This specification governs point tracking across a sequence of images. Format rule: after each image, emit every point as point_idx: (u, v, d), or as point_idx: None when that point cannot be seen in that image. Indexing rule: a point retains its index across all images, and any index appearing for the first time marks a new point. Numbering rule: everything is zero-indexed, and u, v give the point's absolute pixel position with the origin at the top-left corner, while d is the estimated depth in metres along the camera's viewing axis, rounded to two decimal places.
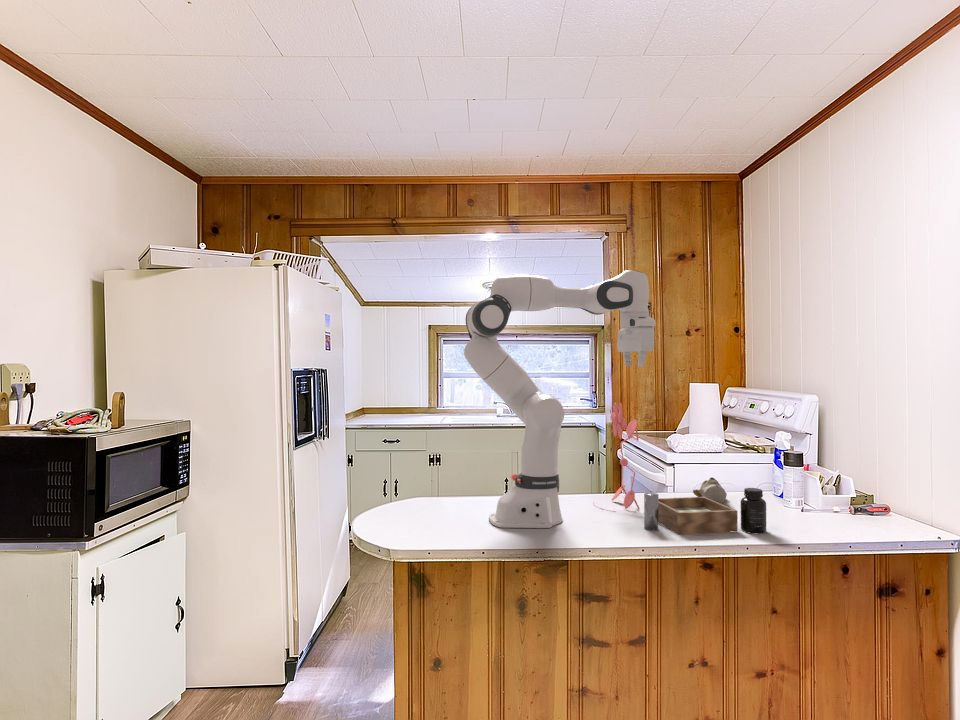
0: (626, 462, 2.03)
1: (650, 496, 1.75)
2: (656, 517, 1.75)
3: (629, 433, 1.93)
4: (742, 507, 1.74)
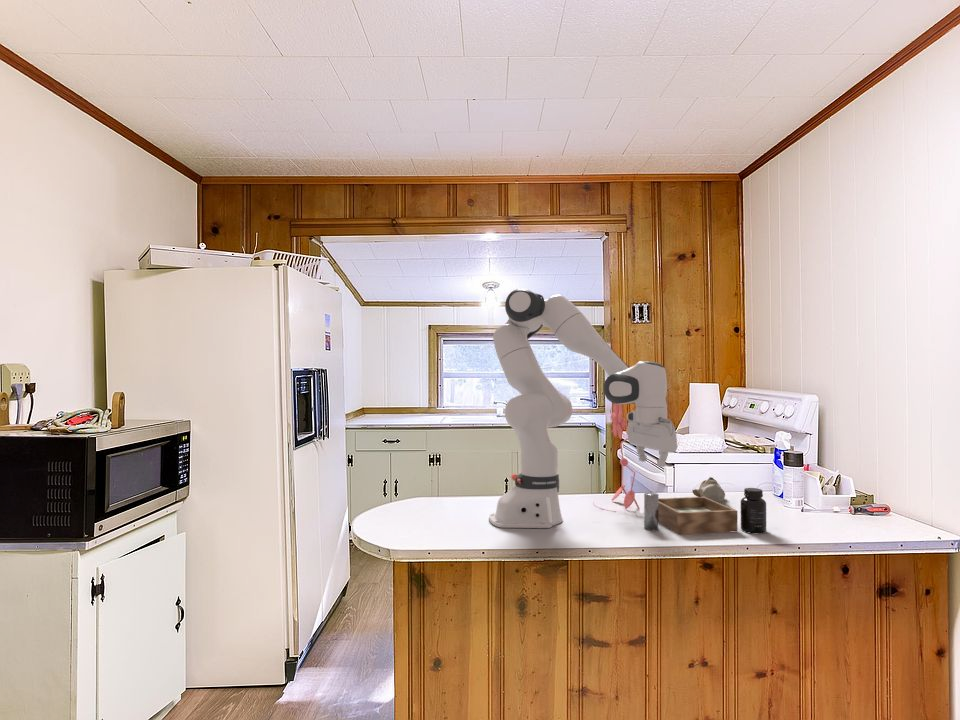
0: (626, 462, 2.03)
1: (650, 496, 1.75)
2: (656, 517, 1.75)
3: None
4: (742, 507, 1.74)
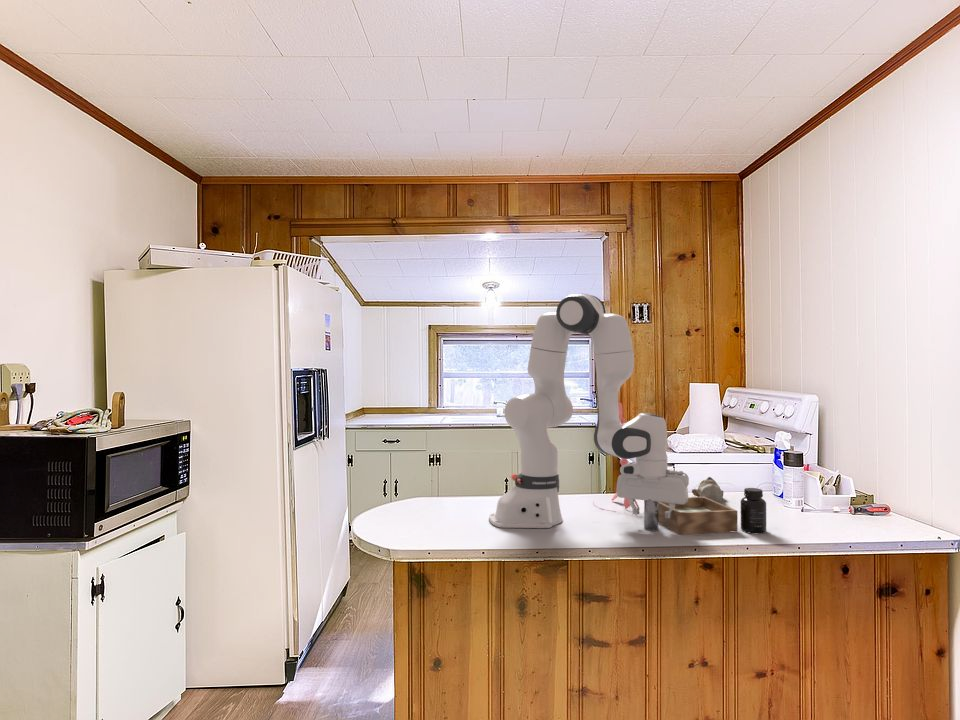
0: (626, 462, 2.03)
1: None
2: (656, 517, 1.75)
3: None
4: (742, 507, 1.74)
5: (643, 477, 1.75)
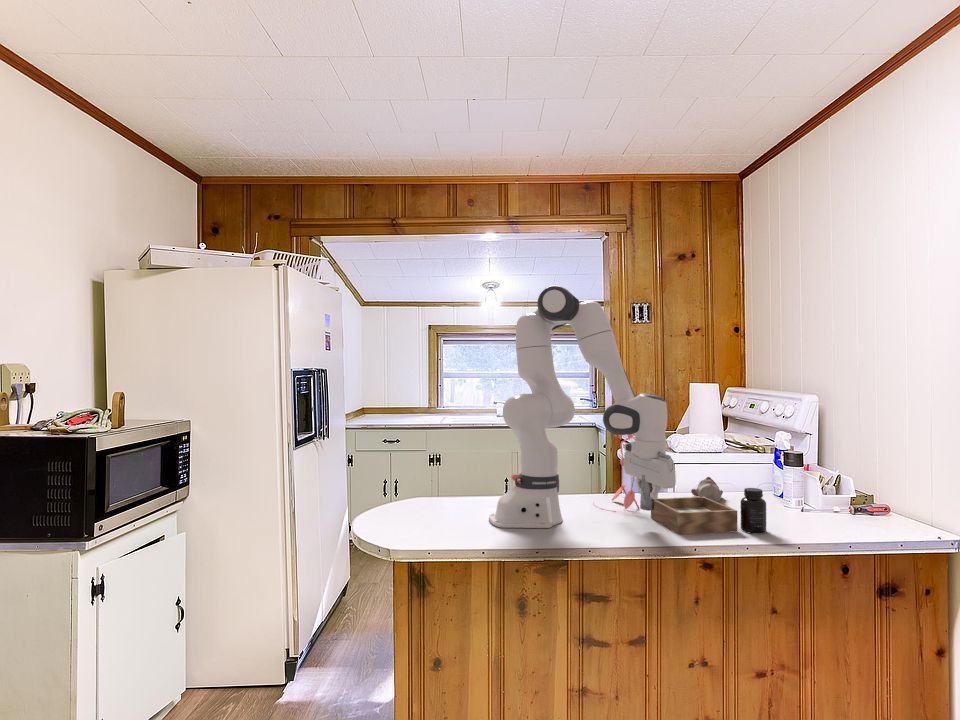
0: None
1: (643, 476, 1.76)
2: (648, 498, 1.75)
3: None
4: (742, 507, 1.74)
5: (638, 456, 1.77)
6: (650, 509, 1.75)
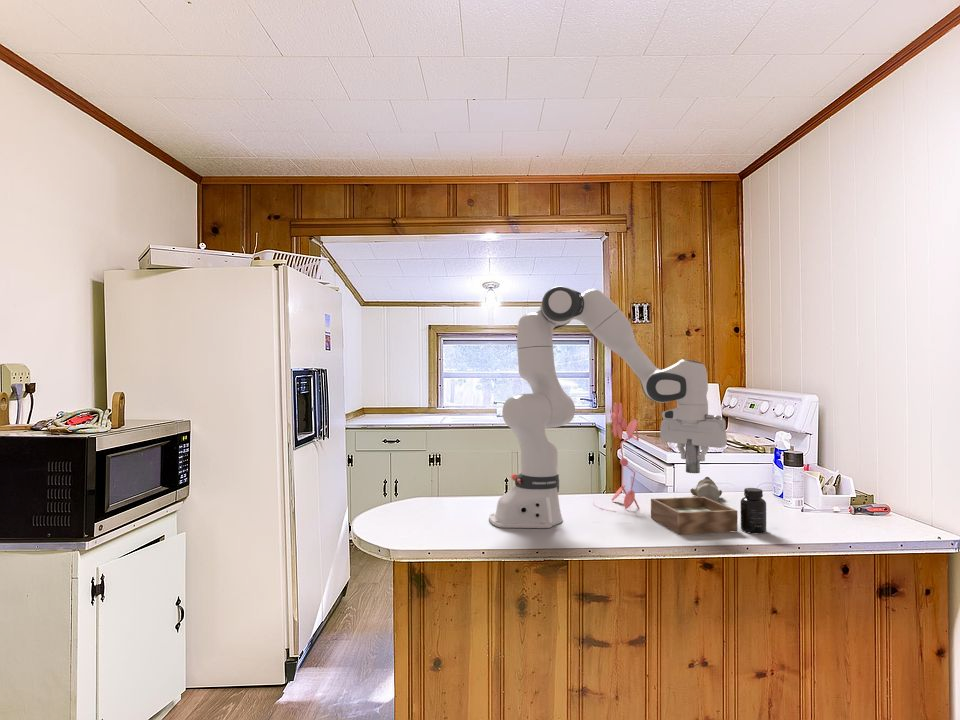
0: (626, 462, 2.03)
1: (689, 440, 1.80)
2: (696, 460, 1.79)
3: (629, 433, 1.93)
4: (742, 507, 1.74)
5: (682, 421, 1.81)
6: (698, 472, 1.79)
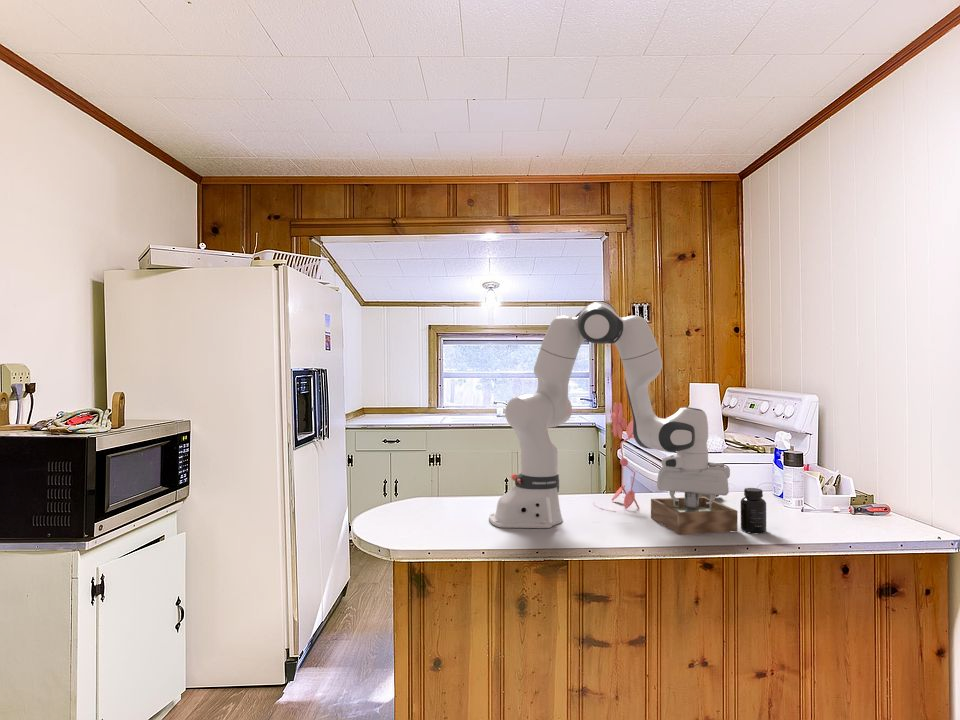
0: (626, 462, 2.03)
1: (692, 493, 1.79)
2: None
3: (629, 433, 1.93)
4: (742, 507, 1.74)
5: (685, 470, 1.79)
6: None
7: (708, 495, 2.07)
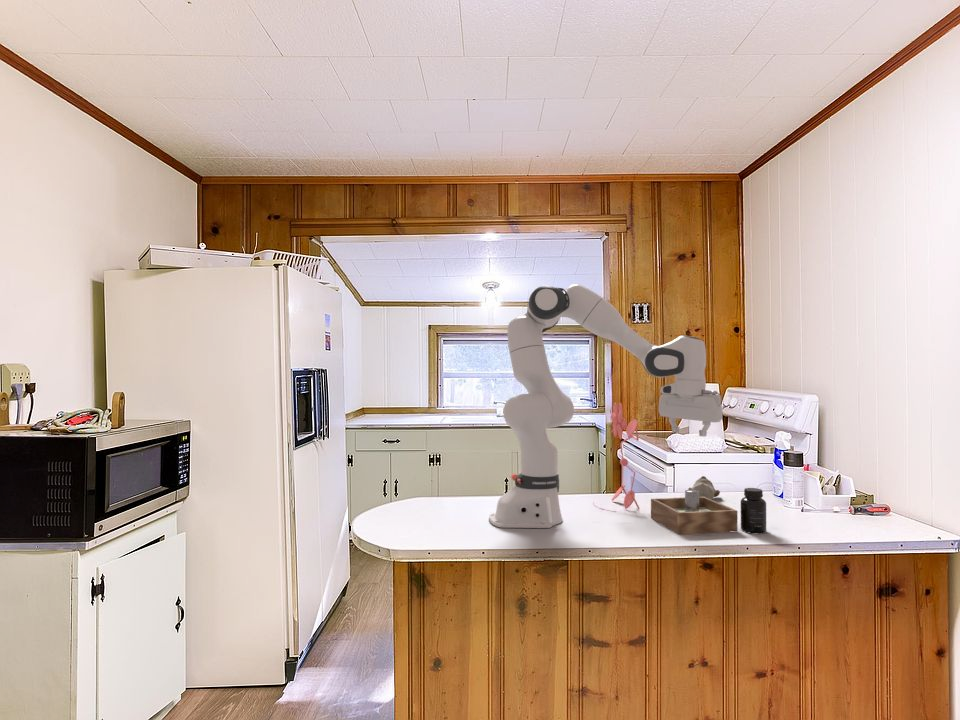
0: (626, 462, 2.03)
1: (692, 493, 1.79)
2: None
3: (629, 433, 1.93)
4: (742, 507, 1.74)
5: (679, 396, 1.85)
6: None
7: (706, 495, 2.07)
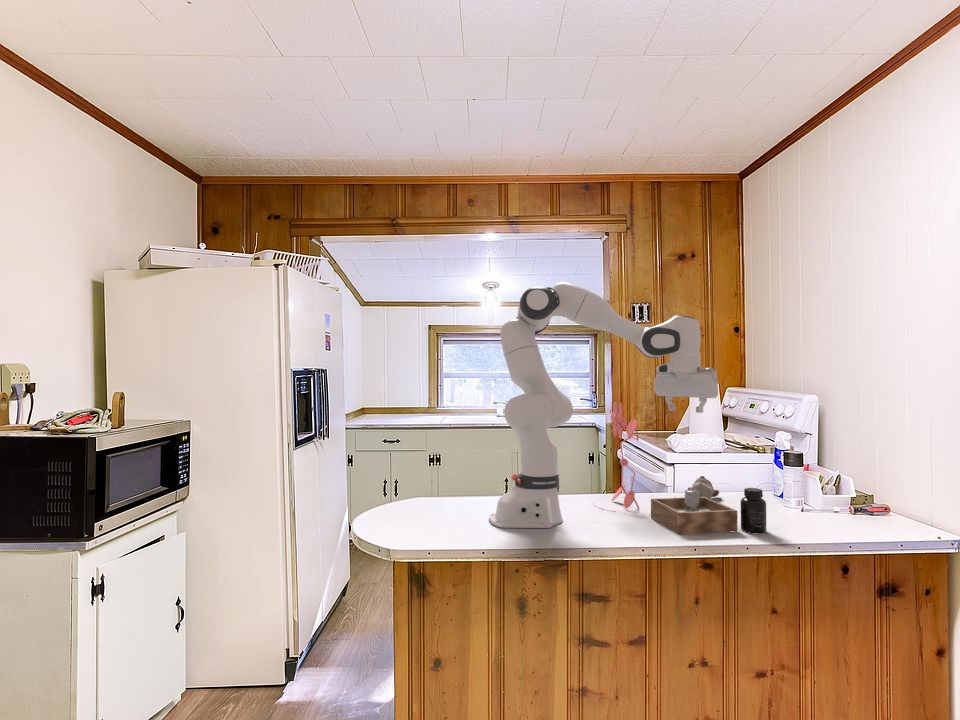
0: (626, 462, 2.03)
1: (692, 493, 1.79)
2: None
3: (629, 433, 1.93)
4: (742, 507, 1.74)
5: (676, 374, 1.89)
6: None
7: (704, 494, 2.08)
